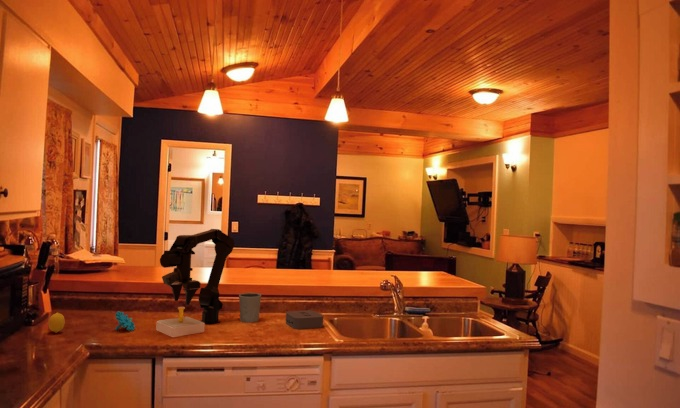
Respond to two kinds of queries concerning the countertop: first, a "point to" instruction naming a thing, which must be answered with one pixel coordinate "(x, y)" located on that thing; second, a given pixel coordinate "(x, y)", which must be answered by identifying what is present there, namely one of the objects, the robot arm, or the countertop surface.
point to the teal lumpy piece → (124, 321)
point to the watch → (181, 313)
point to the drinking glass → (249, 307)
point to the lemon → (56, 322)
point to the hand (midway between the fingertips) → (181, 302)
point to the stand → (179, 326)
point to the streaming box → (304, 319)
